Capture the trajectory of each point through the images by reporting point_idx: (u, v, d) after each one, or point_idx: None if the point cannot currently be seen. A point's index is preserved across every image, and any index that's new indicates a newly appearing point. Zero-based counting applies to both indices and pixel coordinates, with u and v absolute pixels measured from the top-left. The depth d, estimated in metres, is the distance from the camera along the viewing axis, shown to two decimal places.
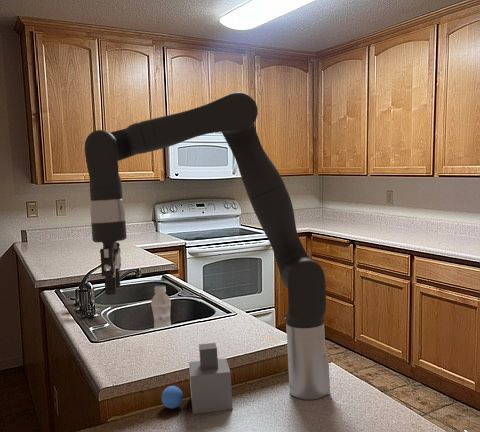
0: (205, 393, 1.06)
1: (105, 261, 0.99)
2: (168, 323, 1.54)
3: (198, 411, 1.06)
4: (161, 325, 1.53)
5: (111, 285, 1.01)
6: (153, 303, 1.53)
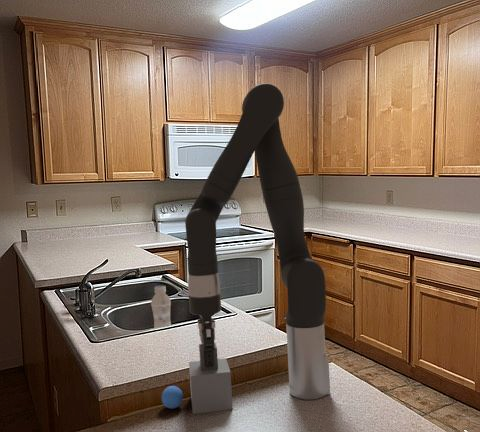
0: (205, 393, 1.06)
1: (207, 340, 1.04)
2: (168, 323, 1.54)
3: (198, 411, 1.06)
4: (161, 325, 1.53)
5: (210, 359, 1.07)
6: (153, 303, 1.53)
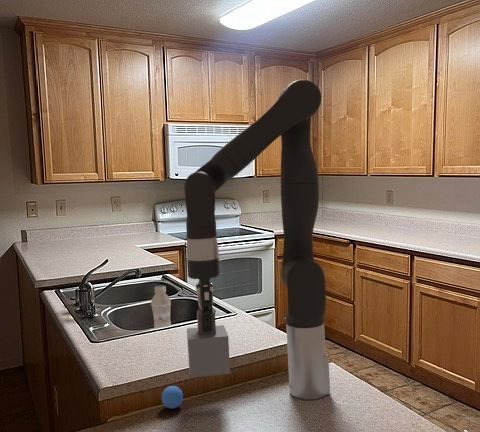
0: (202, 357, 1.05)
1: (205, 303, 1.04)
2: (168, 323, 1.54)
3: (195, 375, 1.05)
4: (161, 325, 1.53)
5: (208, 323, 1.07)
6: (153, 303, 1.53)
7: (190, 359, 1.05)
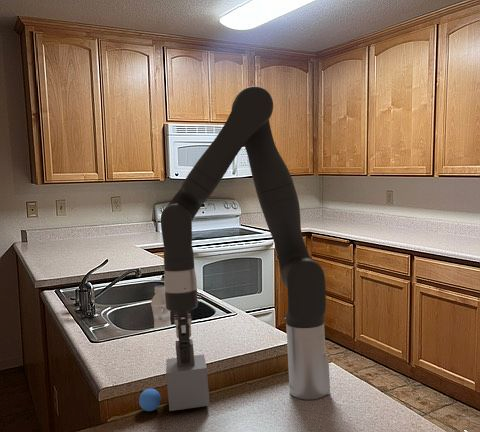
0: (181, 390, 1.05)
1: (182, 336, 1.03)
2: (168, 323, 1.54)
3: (174, 408, 1.05)
4: (161, 325, 1.53)
5: (186, 355, 1.06)
6: (153, 303, 1.53)
7: (169, 392, 1.05)
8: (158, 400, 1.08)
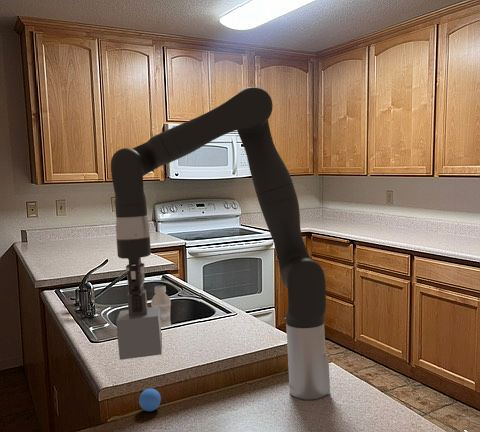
0: (132, 338, 1.03)
1: (132, 283, 1.01)
2: (168, 323, 1.54)
3: (125, 357, 1.03)
4: (161, 325, 1.53)
5: (138, 303, 1.04)
6: (153, 303, 1.53)
7: (119, 340, 1.03)
8: (158, 400, 1.08)
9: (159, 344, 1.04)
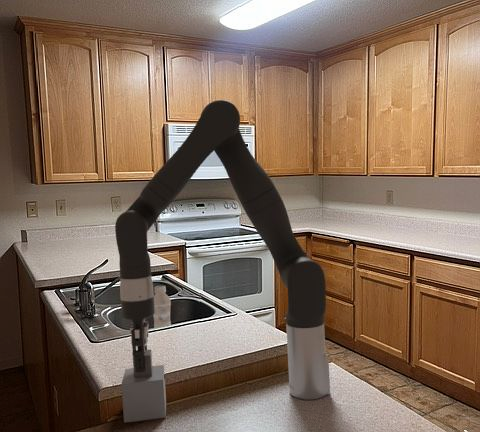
0: (136, 401, 1.04)
1: (136, 342, 1.01)
2: (168, 323, 1.54)
3: (129, 420, 1.04)
4: (161, 325, 1.53)
5: (141, 363, 1.03)
6: None
7: (124, 404, 1.03)
8: None
9: (163, 407, 1.05)
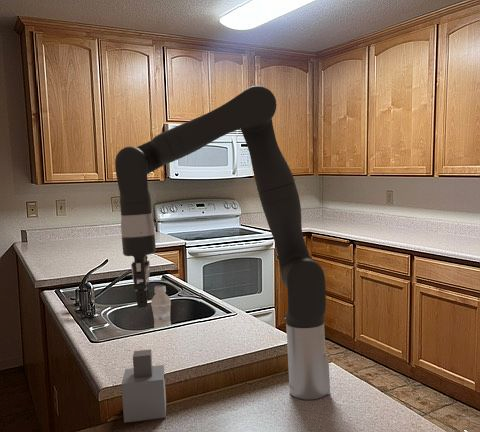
0: (136, 401, 1.04)
1: (137, 275, 1.01)
2: (168, 323, 1.54)
3: (129, 420, 1.04)
4: (161, 325, 1.53)
5: (143, 298, 1.03)
6: (153, 303, 1.53)
7: (124, 404, 1.03)
8: None
9: (163, 407, 1.05)
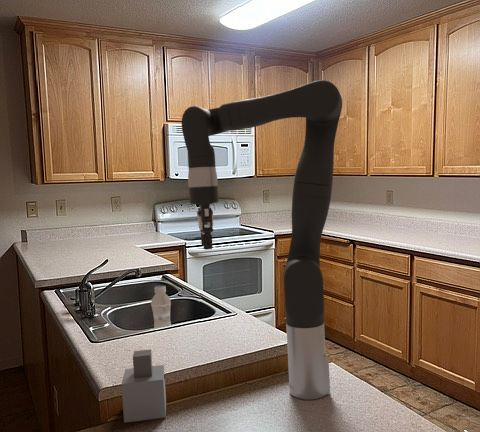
0: (136, 401, 1.04)
1: (206, 219, 1.13)
2: (168, 323, 1.54)
3: (129, 420, 1.04)
4: (161, 325, 1.53)
5: (209, 241, 1.15)
6: (153, 303, 1.53)
7: (124, 404, 1.03)
8: None
9: (163, 407, 1.05)
